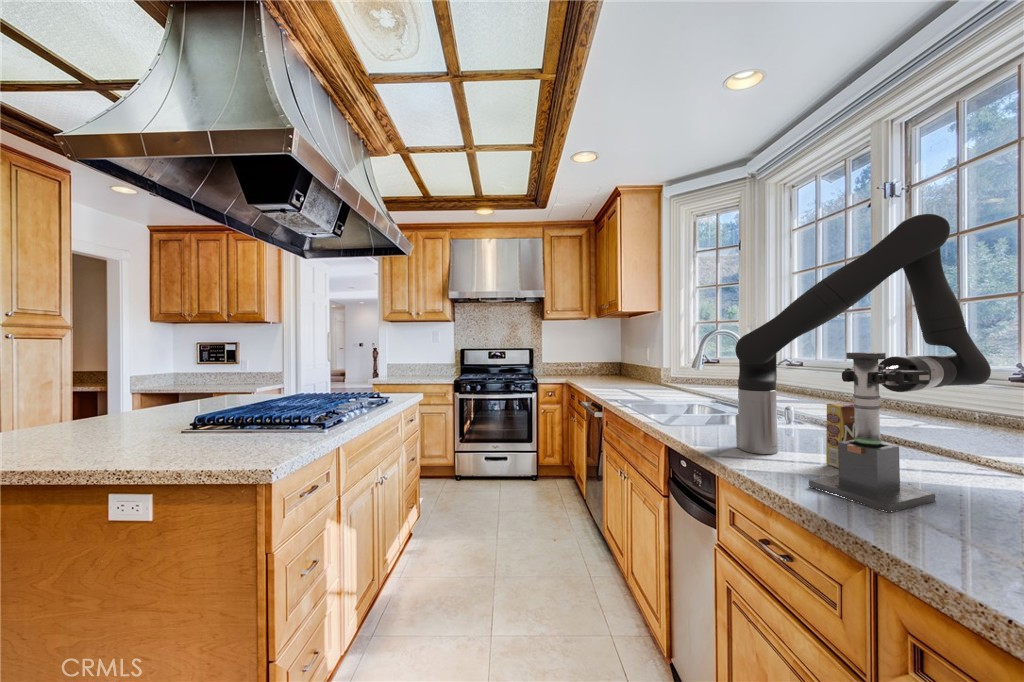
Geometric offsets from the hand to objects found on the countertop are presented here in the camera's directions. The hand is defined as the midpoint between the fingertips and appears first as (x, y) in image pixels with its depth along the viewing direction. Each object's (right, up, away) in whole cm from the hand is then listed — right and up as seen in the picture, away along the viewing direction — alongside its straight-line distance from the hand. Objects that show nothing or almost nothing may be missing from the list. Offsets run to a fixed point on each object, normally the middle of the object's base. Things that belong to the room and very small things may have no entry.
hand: (857, 377), depth 81 cm
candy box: (+14, -24, +18) cm, 33 cm away
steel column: (+3, -16, +1) cm, 17 cm away
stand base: (+3, -24, +1) cm, 24 cm away
